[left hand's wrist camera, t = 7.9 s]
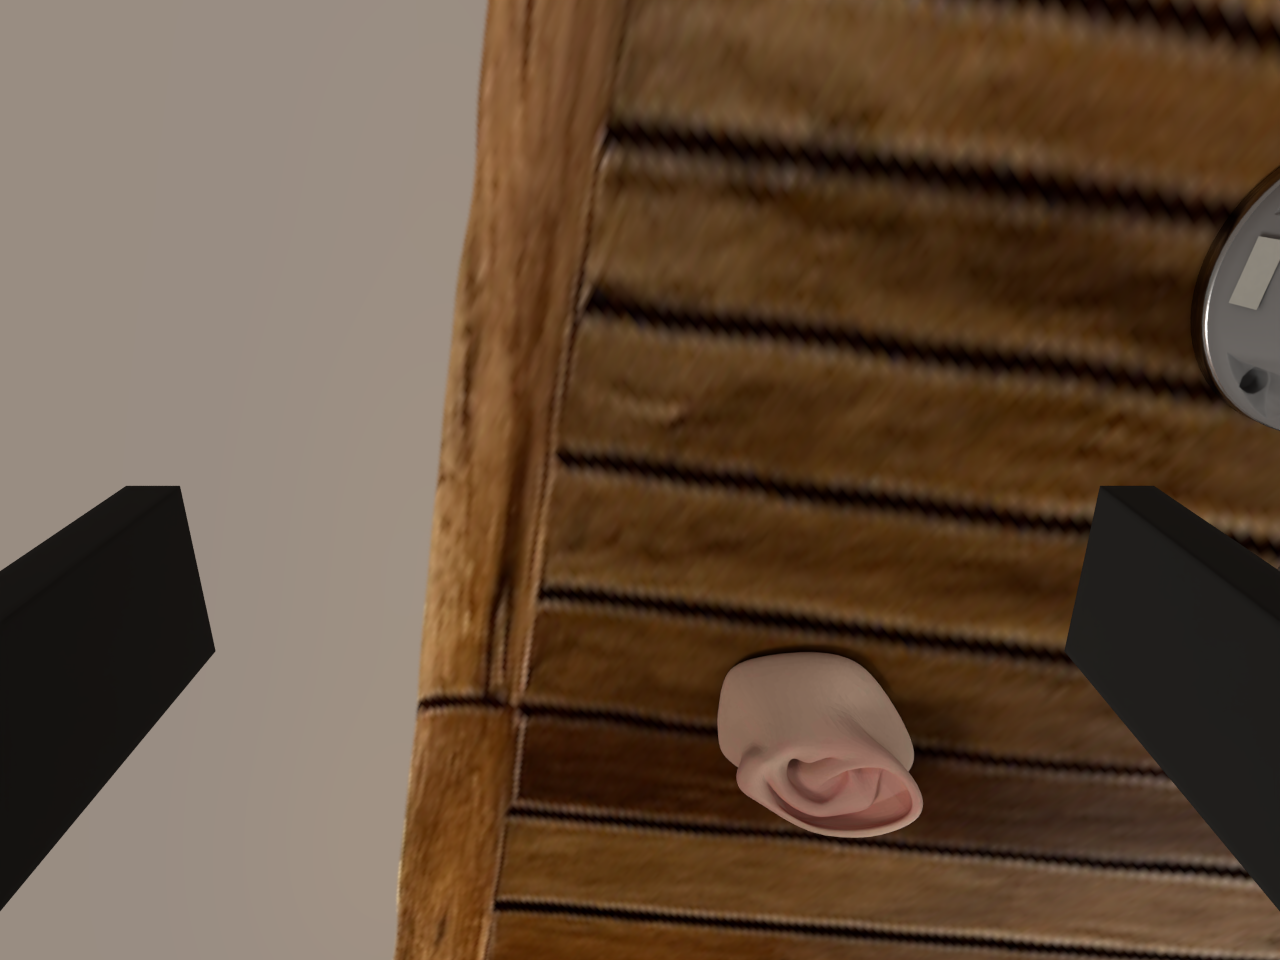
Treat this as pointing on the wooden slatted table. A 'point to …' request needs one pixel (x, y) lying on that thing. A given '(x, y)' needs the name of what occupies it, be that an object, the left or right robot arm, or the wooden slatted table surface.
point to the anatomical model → (818, 744)
